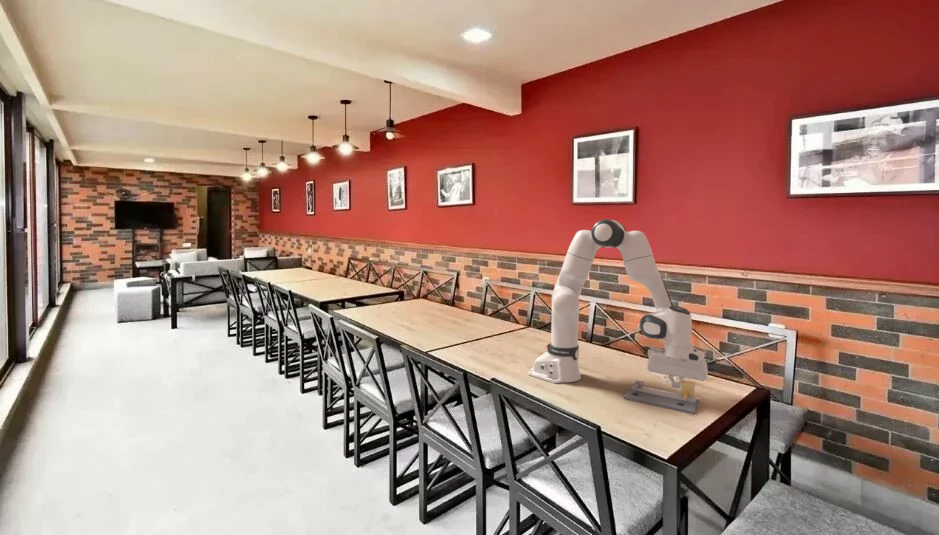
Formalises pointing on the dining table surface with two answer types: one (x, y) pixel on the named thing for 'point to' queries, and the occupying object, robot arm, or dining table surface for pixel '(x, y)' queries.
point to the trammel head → (687, 389)
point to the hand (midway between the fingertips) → (675, 387)
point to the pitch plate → (661, 398)
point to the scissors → (665, 376)
